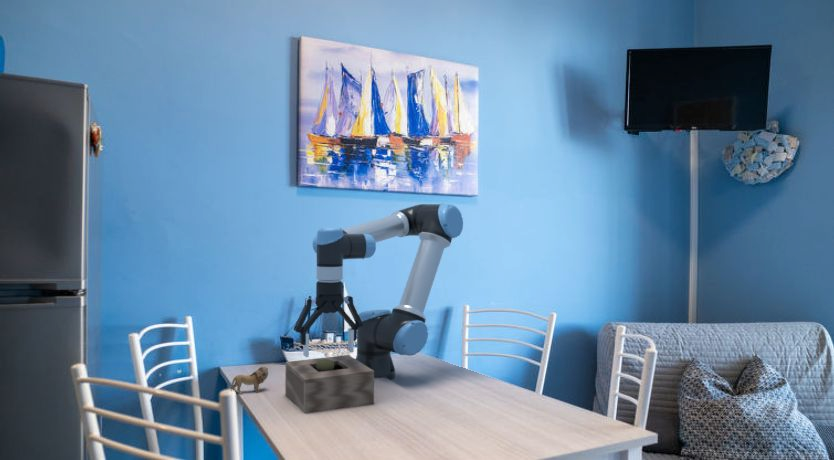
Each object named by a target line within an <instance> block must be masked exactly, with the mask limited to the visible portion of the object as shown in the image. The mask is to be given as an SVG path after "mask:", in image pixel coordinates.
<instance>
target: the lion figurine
mask: <svg viewBox="0 0 834 460" xmlns="http://www.w3.org/2000/svg"><path fill="white" fill-rule="evenodd" d="M268 369H269V368H268V367H267V366H259V367H258V369H257V370H255V371H253V372H252V373H251V374H250V375H249V374H237V375H236V376H235V377H233V380H232V381H231V385H230V389H233V390H235V388H236V387H237V389H236V391H237V393H238V394H239V395H243V394H244V393H243V391H241V388H242V384H243V385H246V386H253V391H254V392H255V393H258V394H259V393H260V390H259V388H260V387H259V386H260V385H261V384H263V383H264V382H265V380H266V379H267V378H268V375H269V370H268Z"/></svg>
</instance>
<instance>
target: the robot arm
mask: <svg viewBox="0 0 834 460" xmlns="http://www.w3.org/2000/svg"><path fill="white" fill-rule="evenodd" d="M462 216H463V215H462V212H461V210H460V208H458V207H457V206H455V205H454V204H451V203H437V204H436V203H435V204H433V203H429V204H428V203H427V204H426V203H425V204H424V203H421V204H415V205H413V206H409V207H406V208H403V209H399V210H397V211H393V212H392V213H391V214H390V215H389V216H385V217H382V218H378V219H374V220H371V221H368V222H363V223H359V224H356V225H353V226H349V227H345V228H342V227H319V228H318V229H317V233H316V235H314V237H313V239H312V249H313V252H314V253H316V280H317V282H316V285H315V287H316V290H315V291H316V293H315V294H316V295H315V298H309V297H307V298H305V300H304V305H303V308H302V310H301V312H300V314H299V316H298V319H297V321H296V323H295V325H294V326H293V331H295V332H296V333H299V335H300V336H299V338H300V339H299V343H300V345H301V346H303V351H302V352H303V356H304V357H305V358H309V357H310V352H309V351H310V349H309V348H310V345H309V344H310V333H308V332H309V330H310V328H311V327H312V326H313V325H314V323H316V321H317V319H318V318H319V317H320V316H322V314H323V313H324V314H330V313H331V314H335V313H338V314H339V315H340V316H341V318H343V320H344V321H345V322H346V323H347V325H348V326H349V327H350V328H347V351H349V352H350V353H354V351H355V348H354V346H355V345H354V344H355V341H356V357H355V359H356V360H358V361H359V362H361V363H362V364H364V365H366V366H367V367H369V368H370V369H372V370H374V379H378V378H379V379H380V378H386V379H387V380H390V381H391V380H394V379H395V378H396V368H395V365H394V362H393V359H392V355H391V353H395V354H398V355H400V356H414V355H417V354H418V353H420V352H421V351H422V350H423V349H424V348H425V346H426V344H427V340H428V338H429V332H428V331H429V329H428V327H427V324H426V321H427V320H426V316H425V315H424V312H425V309H426V306H427V302H428V299H429V297H430V294H431V290H432V289H433V288H432V287H433V284H434V281H435V278H436V276H437V275H436V274H437V272H438V269H439V265H440V262H441V260H442V257H443V255H444V254H443V253H444V251H445V249H446V248H449V247H450V246H451V243H452V240H453V239H456V238H457V237H459V236H460V235H461V234H462V232H463V228H464V218H463V217H462ZM409 236H411V237H412V236H415V237H419V240H420V243H419V246H418V248H417V251H416V254H415V257H414V260H413V262H412V266H411V268H410V272H409V274H408V278H407V280H406V283H405V286H404V290H403V292H402V295H401V297H400V298H401V299H400V301H399V303H398V305H397V306H394V307H393V308H392V311H391V310H390V309H372V310H366V311H361V312H359V313H358V311H357V308H356V306H355V305H354V298H353V297H352V296H351V295H346V296H343V286H344V285H343V281H342V280H343V278H344V277H343V274H344V273H343V267H344V266H343V265H344V260H358V259H360V260H361V259H362V260H364V259H370V258H372V257H373V256H374V254H375V252H376V250H377V243H378V242H379V243H380V242H383V241H386V240H388V239H392V238H395V237H398V238H405V237H409ZM343 303H345V304H346V306H347V307H348V310H349V312H350V314H351V316H352V318H351V317H350V316H349V315H348V313H346V311H345V310H344V308H343V307H342V305H343ZM314 304H315V306H316V307H315V309H314V311H313V312H312V314H311V315H310V316H309V317H308V315H309V313H310V311H311V309H312V307H313V306H314ZM307 317H308V318H307ZM306 319H307V320H306ZM352 319H353V320H352Z"/></svg>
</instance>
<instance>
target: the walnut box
mask: <svg viewBox="0 0 834 460" xmlns="http://www.w3.org/2000/svg"><path fill="white" fill-rule="evenodd" d="M322 359H330V360H332V361H333V362H334V369H333V370H331V371H323V372H318V371H317V369H316V364H317V362H318V361H319V360H322ZM284 375H285V379H284V381H285V385H284V387H285V389H284V391H285V392H284V393H285V394H284V396H285V397H286V398H287V399H288V400H289V401H290V402H291V403H292V404H293V405H294V406H295V407H296V408H298V409H299V410H301V412H303V413H304V414H311V413H319V412H327V411H333V410H334V411H335V410H341V409H348V408H356V407H362V406H365V407H366V406H371V405H374V404H375V403H374V402H375V401H374V400H375V394H374V393H375V378H374V370H372V369H370V368H369V367H367V366H366V365H364V364H362V363H361V362H359V361H358V360H356V358H354V357H352V356H351V355H350V354H344V355H337V356H336V355H335V356H328V357H326V356H325V357H318V358H309V359H300V360H294V361H293V360H292V361H291V360H290V361H285V374H284Z"/></svg>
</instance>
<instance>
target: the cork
mask: <svg viewBox="0 0 834 460" xmlns="http://www.w3.org/2000/svg"><path fill="white" fill-rule="evenodd" d="M316 369H317V371H318V372H323V371H331V370H333V369H334V362H333V361H332V360H330V359H322V360H319V361H318V362H317V364H316Z"/></svg>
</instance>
